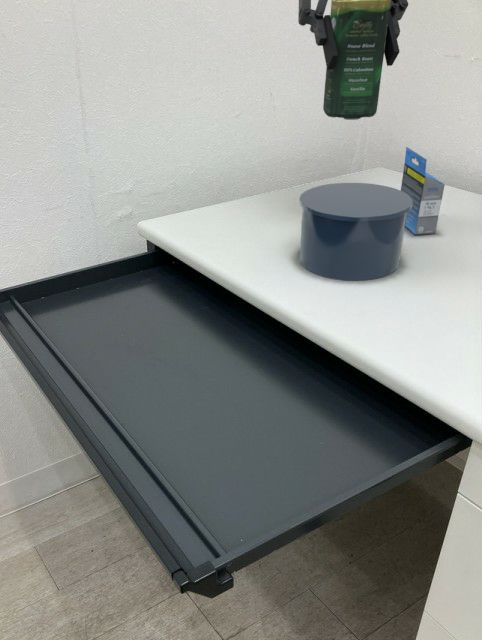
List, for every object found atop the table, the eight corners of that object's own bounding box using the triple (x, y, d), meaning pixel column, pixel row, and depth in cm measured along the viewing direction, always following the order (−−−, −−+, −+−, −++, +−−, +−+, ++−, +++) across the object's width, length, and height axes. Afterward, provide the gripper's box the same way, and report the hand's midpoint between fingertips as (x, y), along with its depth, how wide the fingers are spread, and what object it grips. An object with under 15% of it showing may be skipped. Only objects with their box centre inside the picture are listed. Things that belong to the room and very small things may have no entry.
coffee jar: (380, 120, 86) (400, -35, 75) (325, 121, 87) (336, -32, 76) (371, 108, 94) (387, -35, 83) (320, 109, 95) (330, -32, 84)
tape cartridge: (436, 234, 99) (451, 158, 92) (414, 235, 99) (426, 159, 92) (416, 216, 107) (428, 144, 100) (394, 218, 106) (405, 146, 99)
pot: (388, 239, 98) (396, 181, 93) (415, 280, 85) (427, 215, 79) (291, 242, 99) (294, 184, 93) (302, 283, 85) (306, 218, 80)
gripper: (393, -54, 92) (422, 74, 88) (261, -48, 90) (284, 83, 86) (413, -102, 85) (446, 36, 81) (270, -97, 83) (296, 45, 78)
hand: (363, 60), depth 83 cm, fingers closed on coffee jar, 8 cm apart
